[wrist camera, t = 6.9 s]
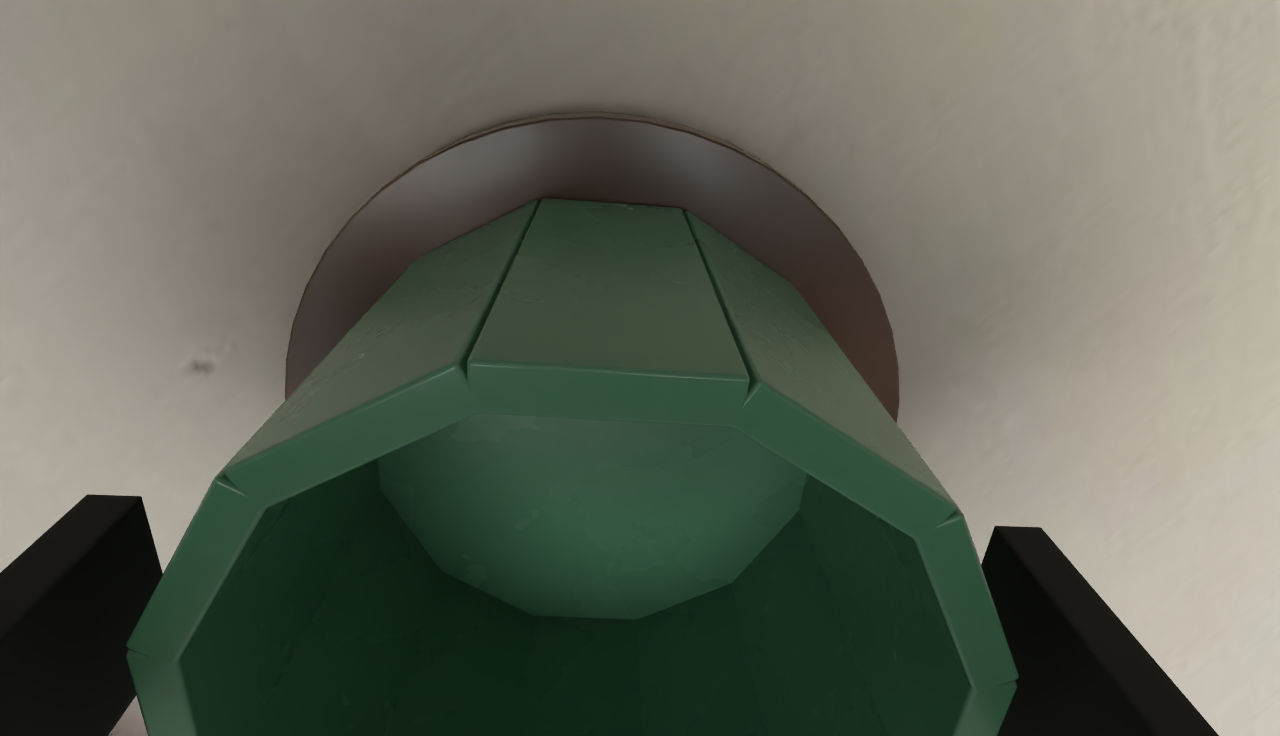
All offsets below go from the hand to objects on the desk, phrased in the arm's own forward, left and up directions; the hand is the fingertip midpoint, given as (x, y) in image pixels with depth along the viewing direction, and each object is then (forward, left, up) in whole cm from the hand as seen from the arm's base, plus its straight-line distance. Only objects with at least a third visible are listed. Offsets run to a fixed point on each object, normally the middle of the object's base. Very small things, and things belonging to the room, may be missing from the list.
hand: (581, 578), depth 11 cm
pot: (+3, 0, -5) cm, 6 cm away
